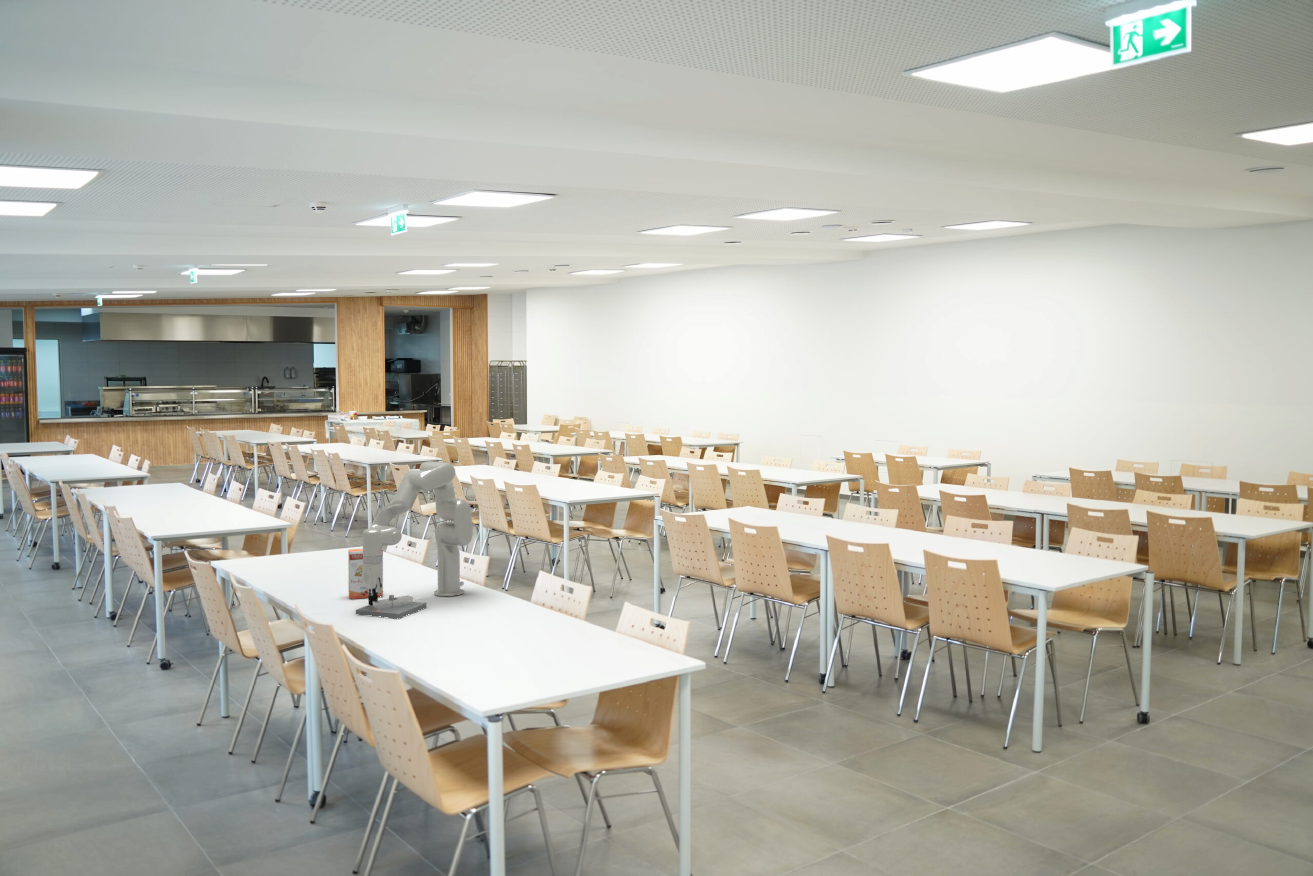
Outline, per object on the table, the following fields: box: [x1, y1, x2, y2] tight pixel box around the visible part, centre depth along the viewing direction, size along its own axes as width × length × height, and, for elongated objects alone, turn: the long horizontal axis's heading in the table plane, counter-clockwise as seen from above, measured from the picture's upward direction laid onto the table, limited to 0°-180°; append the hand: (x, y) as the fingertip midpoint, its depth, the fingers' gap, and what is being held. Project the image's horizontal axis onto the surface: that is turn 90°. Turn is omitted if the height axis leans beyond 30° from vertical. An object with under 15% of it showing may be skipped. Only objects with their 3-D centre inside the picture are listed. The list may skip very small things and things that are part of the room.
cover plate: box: [355, 594, 428, 620], centre depth 399 cm, size 20×20×6 cm
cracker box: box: [347, 548, 384, 600], centre depth 424 cm, size 14×6×21 cm, turn 112°
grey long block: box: [373, 594, 414, 610], centre depth 399 cm, size 5×16×3 cm, turn 134°
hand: (373, 604), depth 397 cm, fingers closed
